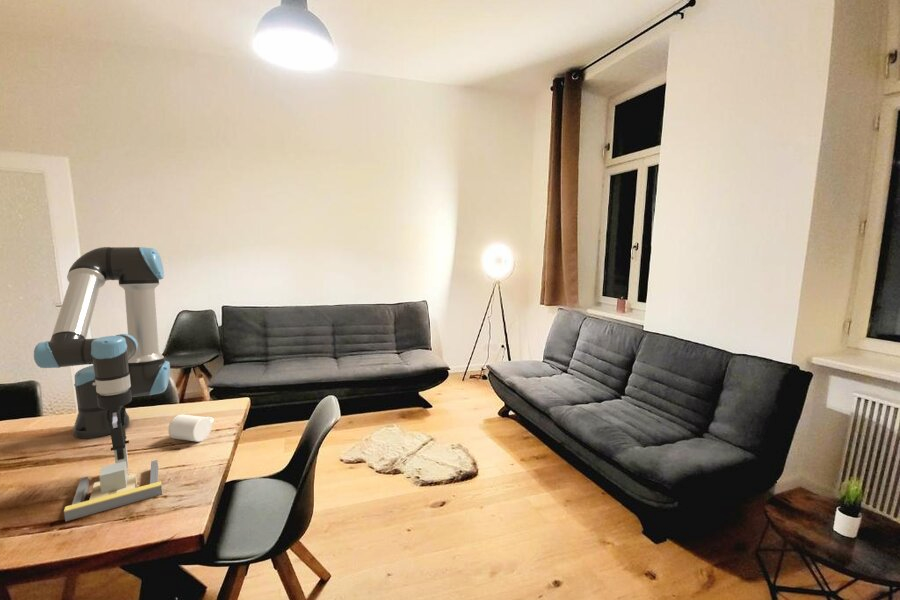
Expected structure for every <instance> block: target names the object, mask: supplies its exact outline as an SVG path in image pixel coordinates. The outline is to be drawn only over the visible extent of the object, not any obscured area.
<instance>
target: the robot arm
mask: <svg viewBox="0 0 900 600" xmlns="http://www.w3.org/2000/svg"><path fill="white" fill-rule="evenodd" d="M164 273H165V271H164V266H163V261H162V259H161V256H160V253H159V252H158V251H157V250H156V249H155V248H153V247H145V246H144V247H142V246H139V247H138V246H137V247H136V246H135V247H133V246H131V247H130V246H129V247H125V246H123V247H122V246H120V247H113V246H112V247H110V246H101V247H97V248H93V249H91V250H90V251H88V252H85V253H84V254H82V255H81V256H80V257H78V258H77V259H76V260H75V261H74V263H72V265H71V266H70V268H69V270H68V273H67V276H66V278H67V281H68V285H67V289H66V292H65V295H64V298H63V301H62V303H61V307H60V310H59V312H58V317H57V319H56V322H55V325H54V328H53V332H52V334H51V338H50V340H49V341H43V342H38V343H37V344H36V345H35V347H34V349H33V360H34V362H35V364H36V366H37V367H38V368H41V369H55V368H56V369H57V368H58V369H59V368H64V367H73V366H76V367H77V366H84V365H89V366H86V367H83V368H80V369H78V370H77V372H75V374H74V383H73V385H74V389H75V395H76V396H75V397H76V404H77V416H76V418H75V423H74V426H73V428H72V429H73V436H74V437H75V438H78V439H94V438H101V437H104V436H108V435H110V437H111V444H112V447H110V451H111V452H112V451H113V453H114V464H115V463H120V462H124V461H126V466H127V469H128V468H129V457H128V449H127V448H128V447H127V444H129V443H130V440H126V439H127V434H126V428H127V427H128V426H129V425H130V423H131V421H130V415H129V414H128V412H127V410H126V407H125V406H126V405H128V404H130V403H131V402H132V400H133V398H135V397H136V398H137V397H143V396H144V397H146V396H152V395H159V394H162V393H165V391H166V390H167V388H168V385H169V380H170V374H171V365H170V364H171V363H170V361H168V360H165V356H164V355H163V354H161V353H160V351H159V338H158V337H159V336H158V323H157V308H156V296H155V295H156V293H155V291H156V290H155V289H156V287H158V286H159V285H160V281H161V280H163V279H164V277H165V274H164ZM107 281H118V286H120V288H122V289H123V290H124V294H125V295H124V298H125V299H124V300H125V310H126V323H127V324H126V325H127V326H126V327H127V333H119V334H115V335H107V336H101V337H99V338H98V337H96V338H87V336H88V332H89V328H90V326H91V325H90V324H91V320H92V317H93V313H94V310H95V306H96V302H97V299H98V295H99V291H100V288H102V287H104V286H105V283H106V282H107Z"/></svg>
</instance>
